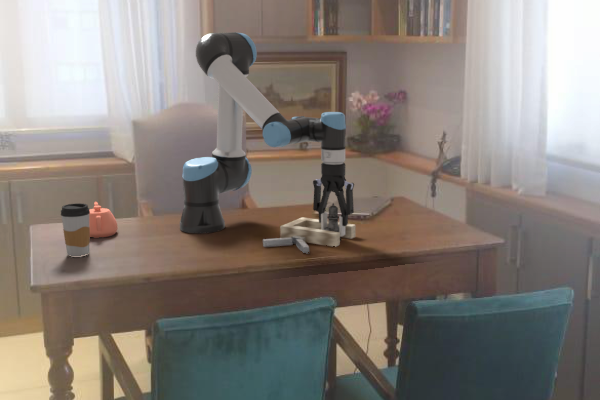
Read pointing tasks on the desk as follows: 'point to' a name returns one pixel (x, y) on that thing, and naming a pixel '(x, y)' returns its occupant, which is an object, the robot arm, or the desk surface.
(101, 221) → the teapot
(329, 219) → the grey tall rounded piece
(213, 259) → the desk surface
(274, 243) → the v block
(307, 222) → the bracket
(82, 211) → the coffee cup
